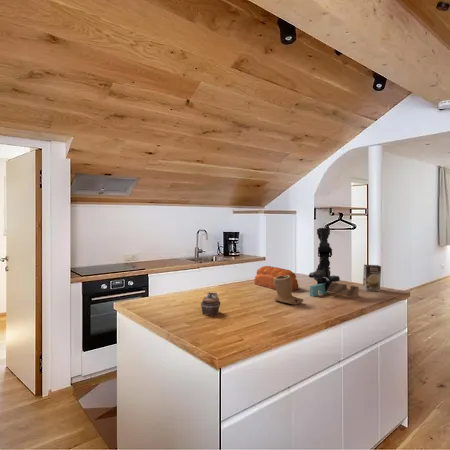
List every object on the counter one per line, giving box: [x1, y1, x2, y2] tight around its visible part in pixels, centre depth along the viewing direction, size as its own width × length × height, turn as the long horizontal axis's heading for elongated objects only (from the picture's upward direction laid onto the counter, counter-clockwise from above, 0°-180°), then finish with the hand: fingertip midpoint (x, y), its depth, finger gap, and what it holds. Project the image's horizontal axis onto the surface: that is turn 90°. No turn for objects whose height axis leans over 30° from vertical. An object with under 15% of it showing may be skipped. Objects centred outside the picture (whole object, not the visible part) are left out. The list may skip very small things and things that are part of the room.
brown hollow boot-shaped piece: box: [273, 275, 304, 306], centre depth 192 cm, size 15×12×15 cm
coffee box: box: [362, 264, 382, 292], centre depth 224 cm, size 9×6×16 cm
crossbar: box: [309, 283, 328, 298], centre depth 211 cm, size 15×2×6 cm, turn 129°
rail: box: [327, 281, 359, 298], centre depth 214 cm, size 22×2×6 cm, turn 39°
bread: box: [253, 265, 299, 292], centre depth 233 cm, size 16×31×13 cm, turn 37°
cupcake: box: [200, 292, 221, 316], centre depth 171 cm, size 10×10×10 cm
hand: (323, 290), depth 215 cm, fingers open, 4 cm apart
